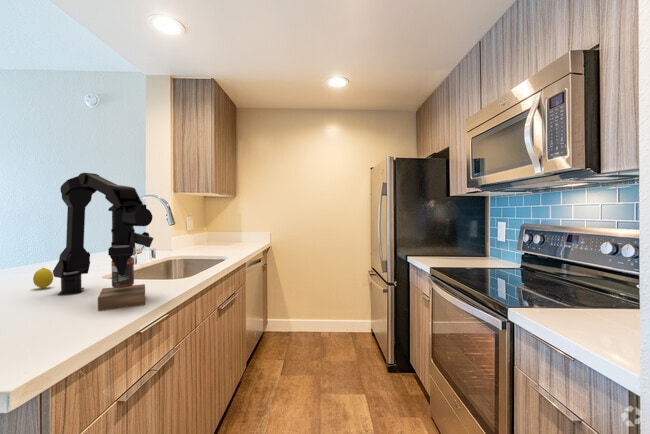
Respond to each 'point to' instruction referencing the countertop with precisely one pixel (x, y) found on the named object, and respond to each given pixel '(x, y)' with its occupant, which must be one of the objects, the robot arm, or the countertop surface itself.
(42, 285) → the lemon
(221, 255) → the countertop surface
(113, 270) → the supplement bottle
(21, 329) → the countertop surface
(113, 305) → the walnut block
